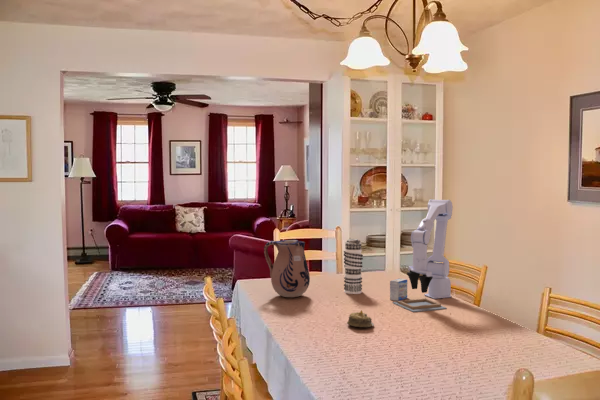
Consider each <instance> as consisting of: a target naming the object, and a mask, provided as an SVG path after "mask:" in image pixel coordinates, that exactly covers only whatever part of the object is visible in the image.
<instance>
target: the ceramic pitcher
mask: <svg viewBox="0 0 600 400" xmlns="http://www.w3.org/2000/svg"><path fill="white" fill-rule="evenodd" d="M271 245H272V246H274V247H276V249H277V251H278V252H277V254H276V257H275V260H274V262H272V260H271V258H270V256H269V250H268V248H269V247H270V246H271ZM305 245H306V242H305V241H302V240H298V239H287V240H286V239H284V240H271V241H268V242H267V243H266V244H265V245H264V247H263V254H264V257H265V260H266V263H267V266H268V268H269V276H270V279H271V281H270V282H271V286H272V288H273V290H274V291H275V293H277V295H279V296H281V297H284V298H298V297H301V296H302V295H303V294H304V293H306V292H307V290H308V288H309V286H310V282H311V281H310V279H311V277H310V270H309V266H308V263H307V258H306V254H305V253H306V252H305Z"/></svg>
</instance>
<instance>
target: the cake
mask: <svg viewBox="0 0 600 400" xmlns="http://www.w3.org/2000/svg"><path fill="white" fill-rule="evenodd" d="M346 324H347V325H349V326H351V327H356V328H357V327H359V328H371V327H374V326H375V323H373V322H372V318H371V317H370V316H368V314H367V313H366V312H363V310H360V311H359V312H352V313H350V314H349V315H348V321H347V322H346Z"/></svg>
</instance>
